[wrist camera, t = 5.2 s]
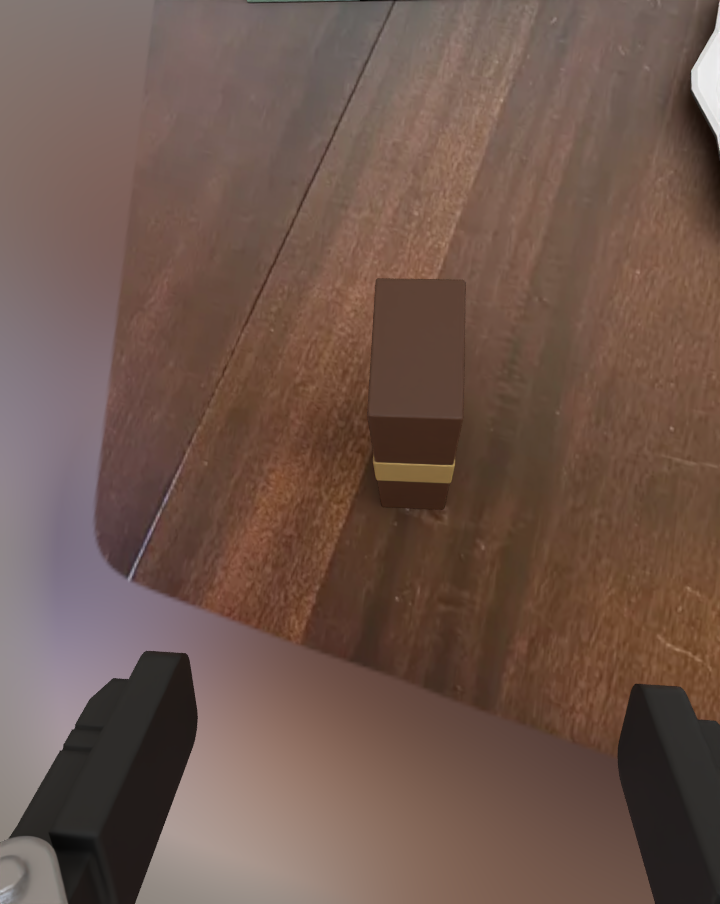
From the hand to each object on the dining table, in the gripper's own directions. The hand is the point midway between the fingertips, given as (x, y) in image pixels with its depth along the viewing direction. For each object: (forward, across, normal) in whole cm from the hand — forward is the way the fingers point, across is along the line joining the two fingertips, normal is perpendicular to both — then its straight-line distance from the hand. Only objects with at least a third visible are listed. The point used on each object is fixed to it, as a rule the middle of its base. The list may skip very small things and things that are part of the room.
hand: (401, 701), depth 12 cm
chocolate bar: (+21, 0, +6) cm, 21 cm away
